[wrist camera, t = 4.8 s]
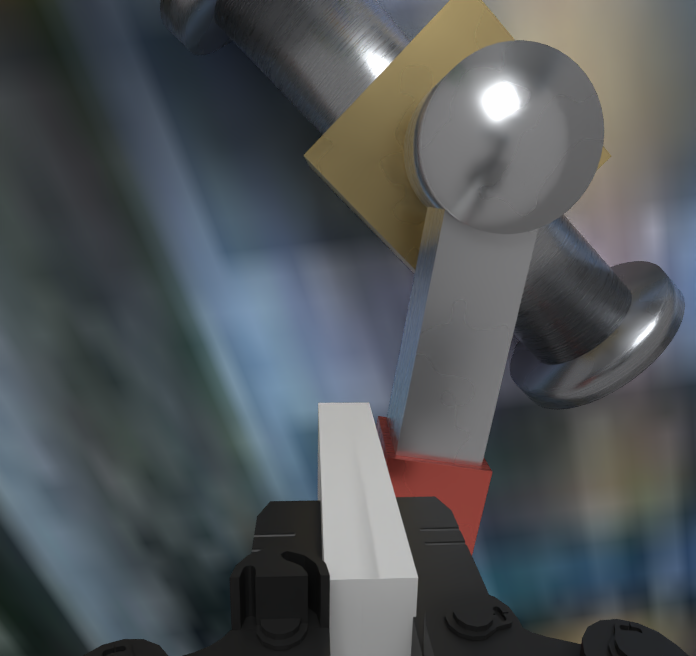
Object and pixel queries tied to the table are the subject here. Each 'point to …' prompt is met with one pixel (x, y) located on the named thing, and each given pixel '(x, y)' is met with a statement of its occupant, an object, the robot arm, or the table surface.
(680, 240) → the table surface
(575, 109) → the lever
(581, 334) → the valve
